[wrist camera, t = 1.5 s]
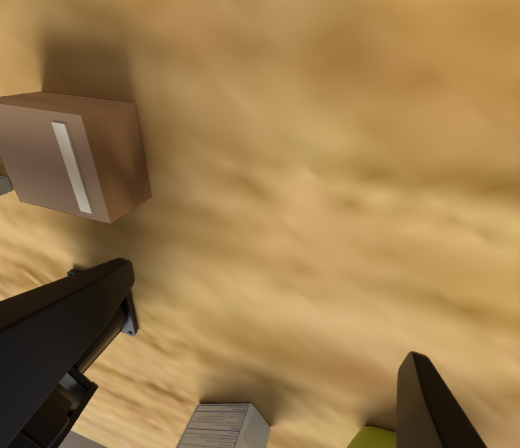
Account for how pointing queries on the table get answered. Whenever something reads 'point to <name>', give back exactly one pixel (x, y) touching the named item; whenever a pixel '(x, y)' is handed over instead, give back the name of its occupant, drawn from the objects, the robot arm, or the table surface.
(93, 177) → the block
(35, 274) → the table surface
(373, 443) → the dumbbell
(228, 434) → the medicine box
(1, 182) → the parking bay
